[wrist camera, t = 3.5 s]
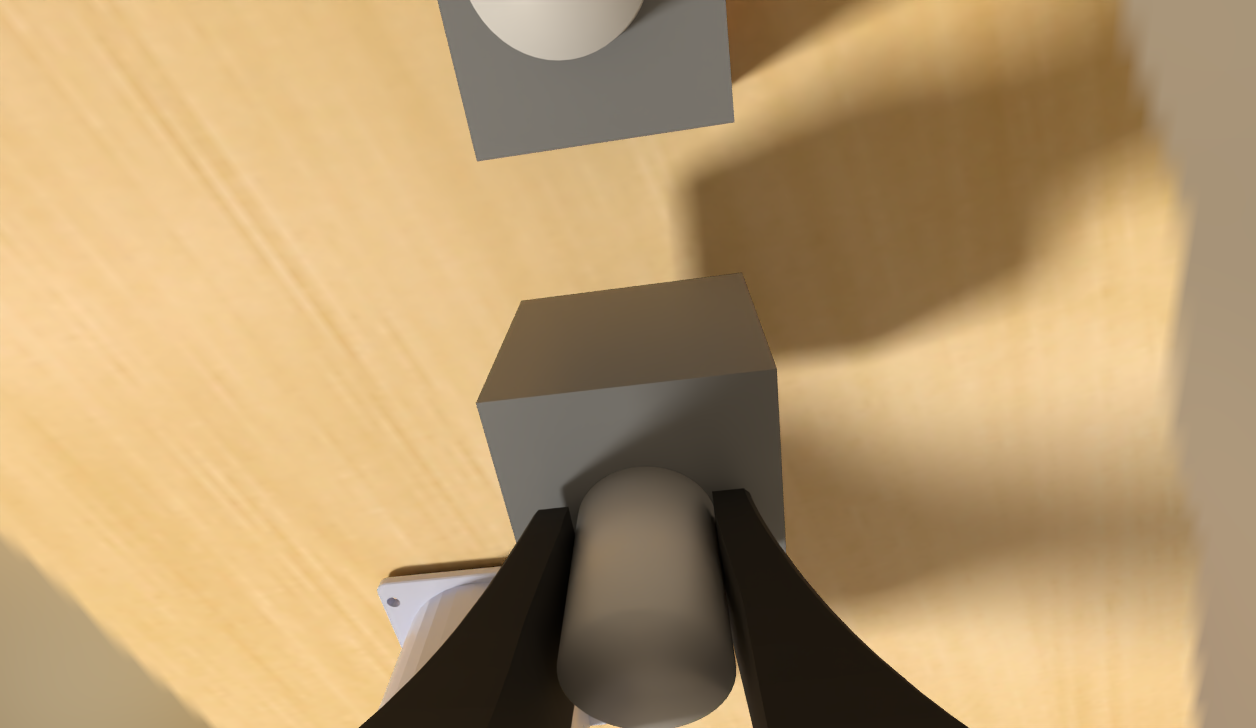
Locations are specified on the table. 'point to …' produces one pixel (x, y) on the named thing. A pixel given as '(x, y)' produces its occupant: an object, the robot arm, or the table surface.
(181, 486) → the table surface
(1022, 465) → the table surface
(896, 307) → the table surface
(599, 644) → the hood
